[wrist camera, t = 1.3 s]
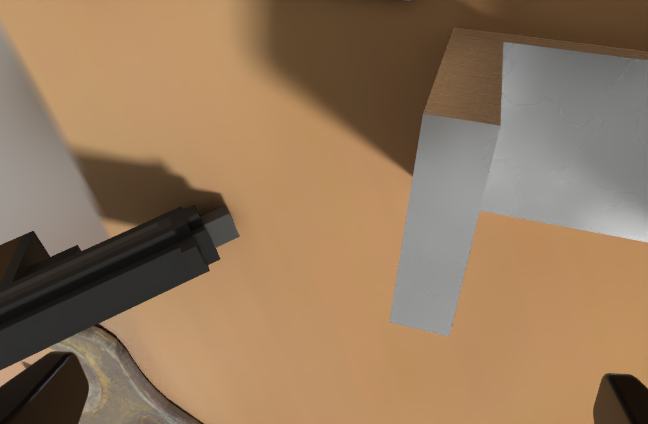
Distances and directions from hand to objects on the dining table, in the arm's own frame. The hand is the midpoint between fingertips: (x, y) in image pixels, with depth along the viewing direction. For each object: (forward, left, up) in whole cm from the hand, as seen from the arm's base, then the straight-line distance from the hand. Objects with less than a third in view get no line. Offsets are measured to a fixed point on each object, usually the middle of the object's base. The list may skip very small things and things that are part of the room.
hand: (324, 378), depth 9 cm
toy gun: (+14, +9, -13) cm, 21 cm away
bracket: (-5, 0, -13) cm, 14 cm away
